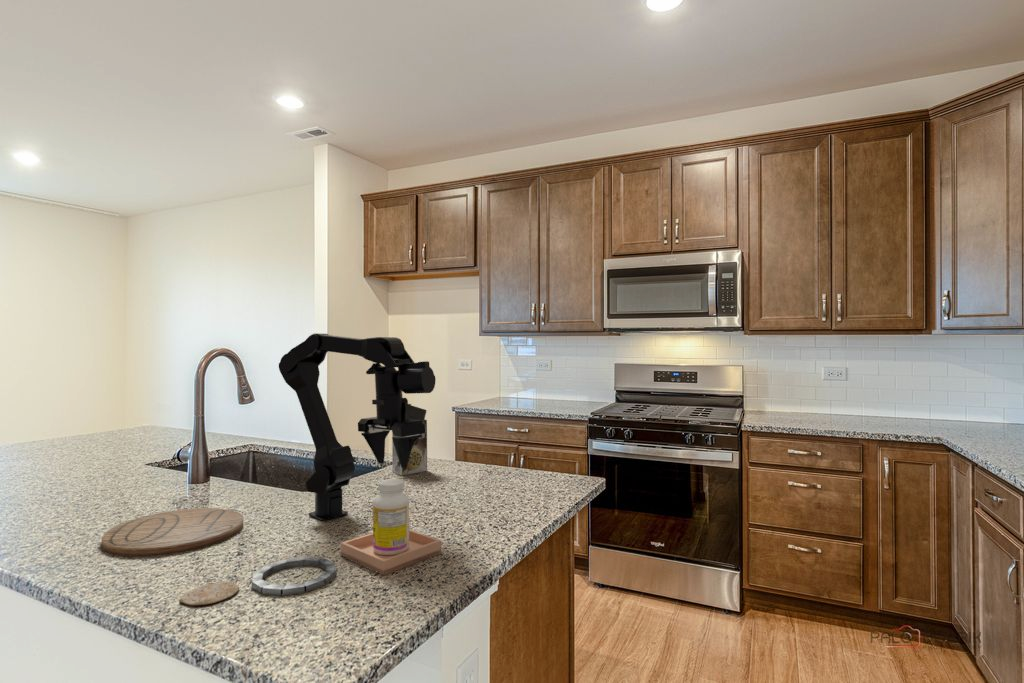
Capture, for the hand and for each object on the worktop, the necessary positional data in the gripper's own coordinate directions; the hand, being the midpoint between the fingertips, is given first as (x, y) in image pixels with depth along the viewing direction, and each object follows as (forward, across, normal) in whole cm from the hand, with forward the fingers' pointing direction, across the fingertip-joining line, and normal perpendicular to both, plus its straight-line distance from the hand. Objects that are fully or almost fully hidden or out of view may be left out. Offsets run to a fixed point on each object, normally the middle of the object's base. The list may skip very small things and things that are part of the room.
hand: (392, 465), depth 120 cm
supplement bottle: (+13, -14, +10) cm, 21 cm away
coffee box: (+12, +40, -31) cm, 52 cm away
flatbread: (+13, -8, +39) cm, 42 cm away
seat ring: (+13, -11, +27) cm, 32 cm away
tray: (+14, -14, +10) cm, 21 cm away
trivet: (+11, +27, +36) cm, 46 cm away
